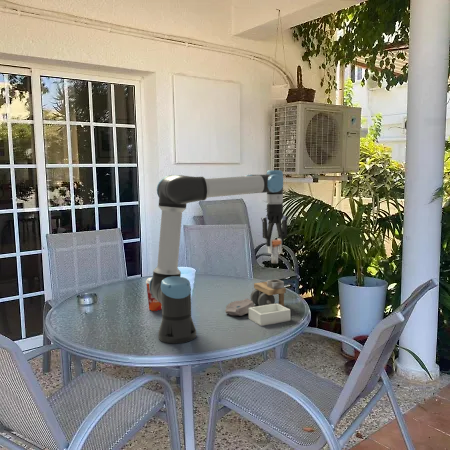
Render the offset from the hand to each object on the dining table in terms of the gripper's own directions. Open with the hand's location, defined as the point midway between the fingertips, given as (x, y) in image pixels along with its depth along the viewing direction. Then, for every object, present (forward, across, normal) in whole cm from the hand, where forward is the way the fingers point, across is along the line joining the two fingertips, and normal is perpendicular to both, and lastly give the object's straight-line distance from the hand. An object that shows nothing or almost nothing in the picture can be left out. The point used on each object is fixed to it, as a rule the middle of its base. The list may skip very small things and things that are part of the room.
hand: (274, 252), depth 209 cm
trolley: (+27, -2, +4) cm, 28 cm away
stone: (+28, -18, 0) cm, 33 cm away
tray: (+27, -10, -13) cm, 32 cm away
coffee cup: (+28, -51, +26) cm, 64 cm away
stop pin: (+5, 0, 0) cm, 5 cm away
